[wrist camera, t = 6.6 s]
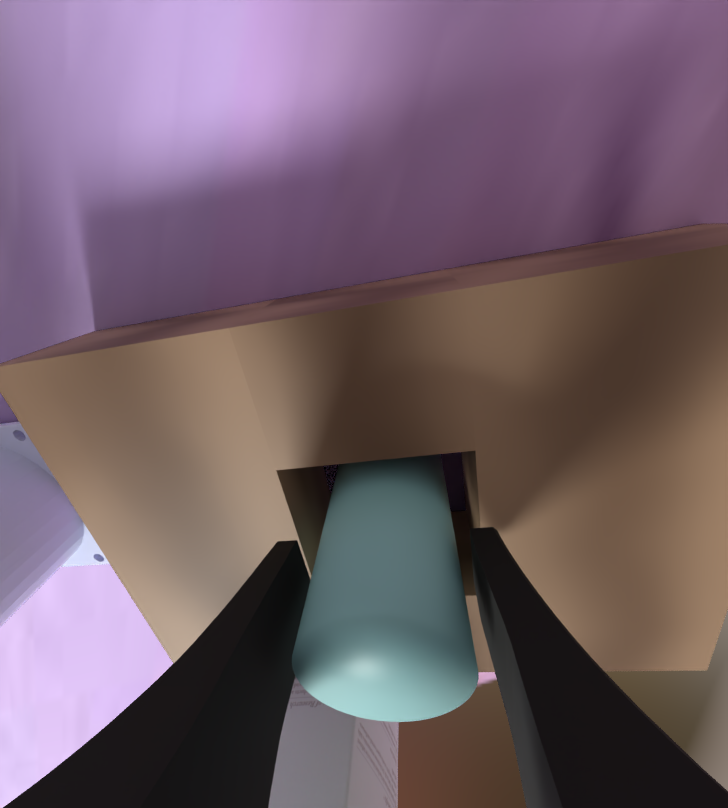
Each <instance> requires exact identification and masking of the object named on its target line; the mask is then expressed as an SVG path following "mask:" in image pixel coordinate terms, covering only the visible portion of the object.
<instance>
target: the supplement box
mask: <svg viewBox="0 0 728 808" xmlns="http://www.w3.org/2000/svg"><path fill="white" fill-rule="evenodd" d="M397 793H398V722H388V721H377V720H371V719H365V718H361V717H356V716H353V715H350V714H346V713H344V712H341V711H338V710H336V709H334V708H332V707H330V706H327V705H326V704H324V703H322V702H321V701H319V700H317V699H316V698H315V697H313V696H312V695H311V694H310V693H309V692H307V691H306V690H305V689H304V688H303V686H302V685H301V684H300V683H299V681H298V680H297V678H296V676H295V680H294V684H293V687H292V691H291V695H290V699H289V703H288V707H287V710H286V714H285V718H284V723H283V727H282V732H281V736H280V741H279V747H278V753H277V758H276V764H275V770H274V776H273V781H272V787H271V793H270V800H269V806H268V808H398V807H397V806H398V805H397V804H398V802H397V801H398V800H397V799H398V798H397V797H398V794H397Z"/></svg>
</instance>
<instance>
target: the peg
mask: <svg viewBox="0 0 728 808" xmlns="http://www.w3.org/2000/svg"><path fill="white" fill-rule="evenodd" d="M292 667H293V671H294V674H295V676H296V678H297V680H298V681H299V683H300V684H301V685H302V686H303V688H304V689H305V690H306V691H307V692H309V693H310V694H311V695H312V696H313V697H315V698H316V699H317V700H319V701H321V702H322V703H324V704H326V705H327V706H330V707H332V708H334V709H336V710H338V711H341V712H344V713H346V714H350V715H353V716H356V717H361V718H365V719H371V720H377V721H388V722H406V721H417V720H423V719H429V718H433V717H436V716H440V715H443V714H445V713H448V712H450V711H452V710H454V709H455V708H457V707H459V706H460V705H462V704H463V703H464V702H465V701H466V700H467V699H469V697H470V696H471V695H472V694H473V692H474V690H475V688H476V686H477V683H478V667H477V661H476V655H475V649H474V644H473V638H472V632H471V626H470V621H469V615H468V609H467V603H466V598H465V592H464V586H463V580H462V575H461V569H460V563H459V557H458V552H457V546H456V540H455V534H454V529H453V523H452V517H451V511H450V506H449V500H448V494H447V488H446V483H445V477H444V471H443V465H442V460H441V454H436V455H426V456H416V457H406V458H396V459H386V460H375V461H365V462H355V463H345V464H339V465H338V469H337V473H336V477H335V481H334V486H333V490H332V494H331V498H330V502H329V506H328V510H327V514H326V519H325V523H324V527H323V531H322V535H321V539H320V543H319V547H318V551H317V556H316V560H315V564H314V568H313V572H312V576H311V580H310V584H309V589H308V593H307V597H306V601H305V605H304V609H303V613H302V617H301V621H300V626H299V630H298V634H297V638H296V642H295V646H294V650H293V654H292Z"/></svg>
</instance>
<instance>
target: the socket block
mask: <svg viewBox="0 0 728 808" xmlns="http://www.w3.org/2000/svg"><path fill="white" fill-rule="evenodd" d="M0 393H1V394H2V396H3V397H4V399H5V400H6V402H7V403H8V405H9V407H10V408H11V410H12V411H13V413H14V414H15V416H16V418H17V419H18V421H19V422H20V424H21V425H22V427H23V429H24V430H25V432H26V433H27V435H28V436H29V438H30V440H31V441H32V443H33V444H34V446H35V447H36V449H37V450H38V452H39V454H40V455H41V457H42V458H43V460H44V461H45V463H46V465H47V466H48V468H49V469H50V471H51V472H52V474H53V476H54V477H55V479H56V480H57V482H58V483H59V485H60V486H61V488H62V490H63V491H64V493H65V494H66V496H67V497H68V499H69V501H70V502H71V504H72V505H73V507H74V508H75V510H76V512H77V513H78V515H79V516H80V518H81V519H82V521H83V523H84V524H85V526H86V527H87V529H88V530H89V532H90V533H91V535H92V537H93V538H94V540H95V541H96V543H97V544H98V546H99V548H100V549H101V551H102V552H103V554H104V555H105V557H106V559H107V560H108V562H109V563H110V565H111V566H112V568H113V569H114V571H115V573H116V574H117V576H118V577H119V579H120V580H121V582H122V584H123V585H124V587H125V588H126V590H127V591H128V593H129V595H130V596H131V598H132V599H133V601H134V602H135V604H136V605H137V607H138V609H139V610H140V612H141V613H142V615H143V616H144V618H145V620H146V621H147V623H148V624H149V626H150V627H151V629H152V631H153V632H154V634H155V635H156V637H157V638H158V640H159V642H160V643H161V645H162V646H163V648H164V649H165V651H166V652H167V654H168V656H169V657H170V659H171V660H172V662H173V663H175V662H176V661H177V660H178V659H179V658H180V657H181V656H182V654H183V653H184V652H185V651H186V650H187V649H188V648H189V647H190V646H191V645H192V644H193V643H194V642H195V641H196V639H197V638H198V637H199V636H200V635H201V634H202V633H203V632H204V630H205V629H206V628H207V627H208V626H209V625H210V624H211V622H212V621H213V620H214V619H215V618H216V617H217V616H218V615H219V613H220V612H221V611H222V610H223V609H224V607H225V606H226V605H227V604H228V603H229V601H230V600H231V599H232V598H233V596H234V595H235V594H236V593H237V592H238V590H239V589H240V588H241V587H242V585H243V584H244V583H245V582H246V580H247V579H248V578H249V577H250V575H251V574H252V573H253V572H254V570H255V569H256V568H257V566H258V565H259V564H260V563H261V561H262V560H263V559H264V558H265V556H266V555H267V554H268V553H269V551H270V550H271V549H272V548H273V546H274V545H275V544H276V543H277V541H291V540H297V541H298V544H299V547H300V550H301V553H302V556H303V559H304V562H305V565H306V568H307V571H308V574H309V577H310V580H311V576H312V572H313V568H314V564H315V560H316V556H317V551H318V547H319V543H320V539H321V535H322V531H323V527H324V523H325V519H326V514H327V510H328V506H329V502H330V498H331V494H330V490H329V486H328V482H327V479H326V475H325V471H324V468H323V466H325V465H335V464H345V463H355V462H365V461H375V460H386V459H396V458H406V457H416V456H426V455H436V454H446V453H456V452H461V458H462V470H463V482H464V494H465V506H466V511H456V512H451V517H452V523H453V529H454V534H455V540H456V546H457V552H458V557H459V563H460V569H461V575H462V580H463V586H464V592H465V598H466V603H467V609H468V615H469V621H470V626H471V632H472V638H473V644H474V649H475V655H476V661H477V667H478V672H495V670H494V667H493V663H492V659H491V656H490V652H489V648H488V645H487V641H486V638H485V634H484V630H483V627H482V623H481V618H480V613H479V607H478V602H477V596H476V591H475V585H474V577H473V564H472V552H471V540H470V528H484V527H494V528H495V529H496V530H497V531H498V533H499V535H500V536H501V538H502V540H503V542H504V543H505V545H506V547H507V548H508V550H509V552H510V553H511V555H512V556H513V558H514V559H515V561H516V562H517V564H518V565H519V567H520V568H521V570H522V571H523V573H524V574H525V575H526V577H527V578H528V580H529V581H530V582H531V584H532V585H533V586H534V588H535V589H536V590H537V592H538V593H539V594H540V596H541V597H542V598H543V600H544V601H545V602H546V604H547V605H548V606H549V608H550V609H551V610H552V611H553V613H554V614H555V615H556V616H557V618H558V619H559V620H560V621H561V622H562V624H563V625H564V626H565V627H566V628H567V630H568V631H569V632H570V633H571V635H572V636H573V637H574V638H575V639H576V640H577V642H578V643H579V644H580V645H581V646H582V647H583V648H584V650H585V651H586V652H587V653H588V654H589V655H590V656H591V657H592V659H593V660H594V661H595V662H596V663H597V664H598V665H599V666H600V667H601V668H602V669H603V671H682V670H683V671H688V670H689V671H692V670H694V671H695V670H707V669H708V666H709V663H710V660H711V658H712V655H713V651H714V648H715V646H716V642H717V639H718V637H719V633H720V630H721V628H722V625H723V622H724V618H725V616H726V613H727V610H728V224H699V225H693V226H687V227H682V228H676V229H670V230H665V231H659V232H653V233H648V234H642V235H636V236H631V237H625V238H619V239H614V240H608V241H602V242H597V243H591V244H585V245H580V246H574V247H568V248H563V249H557V250H552V251H546V252H540V253H535V254H529V255H523V256H518V257H512V258H506V259H501V260H495V261H489V262H484V263H478V264H472V265H467V266H461V267H455V268H450V269H444V270H438V271H433V272H427V273H421V274H416V275H410V276H404V277H399V278H393V279H387V280H382V281H376V282H371V283H365V284H359V285H354V286H348V287H342V288H337V289H331V290H325V291H320V292H314V293H308V294H303V295H297V296H291V297H286V298H280V299H274V300H269V301H263V302H257V303H252V304H246V305H240V306H235V307H229V308H223V309H218V310H212V311H207V312H201V313H195V314H190V315H184V316H178V317H173V318H167V319H161V320H156V321H150V322H144V323H139V324H133V325H127V326H122V327H116V328H110V329H105V330H99V331H94V332H91V333H88V334H85V335H82V336H79V337H76V338H73V339H70V340H68V341H65V342H62V343H59V344H56V345H53V346H50V347H47V348H44V349H41V350H38V351H36V352H33V353H30V354H27V355H24V356H21V357H18V358H15V359H12V360H9V361H6V362H3V363H1V364H0Z"/></svg>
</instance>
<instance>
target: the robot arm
mask: <svg viewBox="0 0 728 808" xmlns="http://www.w3.org/2000/svg"><path fill="white" fill-rule="evenodd" d="M470 540H471V552H472V564H473V577H474V585H475V591H476V596H477V602H478V607H479V613H480V618H481V623H482V627H483V630H484V634H485V638H486V641H487V645H488V648H489V652H490V656H491V659H492V663H493V667H494V670H495V674H496V677H497V681H498V685H499V688H500V692H501V695H502V699H503V703H504V706H505V710H506V713H507V717H508V721H509V725H510V729H511V733H512V737H513V742H514V746H515V751H516V756H517V761H518V766H519V771H520V776H521V781H522V786H523V791H524V796H525V801H526V807H527V808H728V791H727V790H726V789H724V788H723V787H722V786H721V785H720V784H719V783H718V782H716V780H715V779H713V778H712V777H711V776H710V775H709V774H708V773H707V772H706V771H704V770H703V769H702V768H701V767H700V766H699V765H698V764H697V763H696V762H695V761H694V760H693V759H692V758H691V757H690V756H689V755H688V754H686V752H684V751H683V750H682V749H681V748H680V747H679V746H678V745H677V744H676V743H675V742H674V741H673V740H672V739H671V738H670V737H669V736H668V735H667V734H666V733H665V732H664V731H663V730H662V729H661V728H659V727H658V726H657V725H656V724H655V723H654V722H653V721H652V720H651V719H650V718H649V717H648V716H647V715H646V714H645V713H644V712H643V711H642V710H641V709H640V708H639V707H638V706H637V705H636V704H635V703H634V702H633V701H632V700H631V699H630V698H629V697H628V696H627V695H626V694H625V693H624V692H623V691H622V690H621V689H620V688H619V686H617V684H615V682H614V681H613V680H612V679H611V678H610V677H609V676H608V675H607V674H606V673H605V672H604V671H603V669H602V668H601V667H600V666H599V665H598V664H597V663H596V662H595V661H594V660H593V659H592V657H591V656H590V655H589V654H588V653H587V652H586V651H585V650H584V648H583V647H582V646H581V645H580V644H579V643H578V642H577V640H576V639H575V638H574V637H573V636H572V635H571V633H570V632H569V631H568V630H567V628H566V627H565V626H564V625H563V624H562V622H561V621H560V620H559V619H558V618H557V616H556V615H555V614H554V613H553V611H552V610H551V609H550V608H549V606H548V605H547V604H546V602H545V601H544V600H543V598H542V597H541V596H540V594H539V593H538V592H537V590H536V589H535V588H534V586H533V585H532V584H531V582H530V581H529V580H528V578H527V577H526V575H525V574H524V573H523V571H522V570H521V568H520V567H519V565H518V564H517V562H516V561H515V559H514V558H513V556H512V555H511V553H510V552H509V550H508V548H507V547H506V545H505V543H504V542H503V540H502V538H501V536H500V535H499V533H498V531H497V530H496V529H495V528H494V527H484V528H470ZM101 564H110V563H109V562H108V560H107V559H106V557H105V555H104V554H103V552H102V551H101V549H100V548H99V546H98V544H97V543H96V541H95V540H94V538H93V537H92V535H91V533H90V532H89V530H88V529H87V527H86V526H85V524H84V523H83V521H82V519H81V518H80V516H79V515H78V513H77V512H76V510H75V508H74V507H73V505H72V504H71V502H70V501H69V499H68V497H67V496H66V494H65V493H64V491H63V490H62V488H61V486H60V485H59V483H58V482H57V480H56V479H55V477H54V476H53V474H52V472H51V471H50V469H49V468H48V466H47V465H46V463H45V461H44V460H43V458H42V457H41V455H40V454H39V452H38V450H37V449H36V447H35V446H34V444H33V443H32V441H31V440H30V438H29V436H28V435H27V433H26V432H25V430H24V429H23V427H22V425H21V424H20V422H19V421H18V422H10V423H3V424H0V627H1V626H2V625H3V624H4V623H5V622H6V621H7V620H8V619H9V618H10V617H11V616H12V615H13V614H14V613H15V612H16V611H17V610H18V609H19V608H20V607H21V606H22V605H23V604H24V603H25V602H26V601H27V600H28V599H29V598H30V597H31V596H32V595H33V594H34V593H35V592H36V591H37V590H38V589H39V588H40V587H41V586H42V585H43V584H44V583H45V582H46V581H47V580H48V579H49V578H50V577H51V576H52V575H53V574H54V573H55V572H56V571H57V570H58V569H59V568H60V567H69V566H85V565H101ZM309 584H310V577H309V574H308V571H307V568H306V565H305V562H304V559H303V556H302V553H301V550H300V547H299V544H298V541H297V540H291V541H277V543H276V544H275V545H274V546H273V548H272V549H271V550H270V551H269V553H268V554H267V555H266V556H265V558H264V559H263V560H262V561H261V563H260V564H259V565H258V566H257V568H256V569H255V570H254V572H253V573H252V574H251V575H250V577H249V578H248V579H247V580H246V582H245V583H244V584H243V585H242V587H241V588H240V589H239V590H238V592H237V593H236V594H235V595H234V596H233V598H232V599H231V600H230V601H229V603H228V604H227V605H226V606H225V607H224V609H223V610H222V611H221V612H220V613H219V615H218V616H217V617H216V618H215V619H214V620H213V621H212V622H211V624H210V625H209V626H208V627H207V628H206V629H205V630H204V632H203V633H202V634H201V635H200V636H199V637H198V638H197V639H196V641H195V642H194V643H193V644H192V645H191V646H190V647H189V648H188V649H187V650H186V651H185V652H184V653H183V654H182V656H181V657H180V658H179V659H178V660H177V661H176V662H175V663H174V664H173V665H172V666H171V667H170V668H169V669H168V670H167V671H166V672H165V673H164V674H163V675H162V676H161V677H160V678H159V679H158V680H156V681H155V682H154V683H153V684H152V685H151V686H150V687H149V688H148V689H147V690H146V691H145V692H144V693H143V694H141V695H140V696H139V697H138V698H137V699H136V700H135V701H134V702H133V703H131V704H130V705H129V706H128V707H127V708H126V709H125V710H124V711H123V712H122V713H120V714H119V715H118V716H117V717H116V718H115V719H114V720H113V721H112V722H111V723H109V724H108V725H107V726H106V727H105V728H104V729H102V730H101V731H100V732H99V733H98V734H96V735H95V736H94V737H93V738H92V739H90V740H89V741H88V742H87V743H86V744H85V745H83V746H82V747H81V748H80V749H78V750H77V751H76V752H75V753H73V754H72V755H71V756H70V757H69V758H67V759H66V760H65V761H64V762H62V763H61V764H60V765H59V766H57V767H56V768H55V769H54V770H52V771H51V772H50V773H48V774H47V775H46V776H45V777H43V778H42V779H41V780H39V781H38V782H37V783H36V784H34V785H33V786H32V787H30V788H29V789H27V790H26V791H25V792H23V793H22V794H21V795H19V796H18V797H17V798H15V799H14V800H13V801H11V802H10V803H9V804H7V805H6V806H5V807H3V808H268V806H269V800H270V793H271V787H272V781H273V776H274V770H275V764H276V758H277V753H278V747H279V741H280V736H281V732H282V727H283V723H284V718H285V714H286V710H287V707H288V703H289V699H290V695H291V691H292V687H293V684H294V680H295V674H294V671H293V667H292V654H293V650H294V646H295V642H296V638H297V634H298V630H299V626H300V621H301V617H302V613H303V609H304V605H305V601H306V597H307V593H308V589H309Z"/></svg>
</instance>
